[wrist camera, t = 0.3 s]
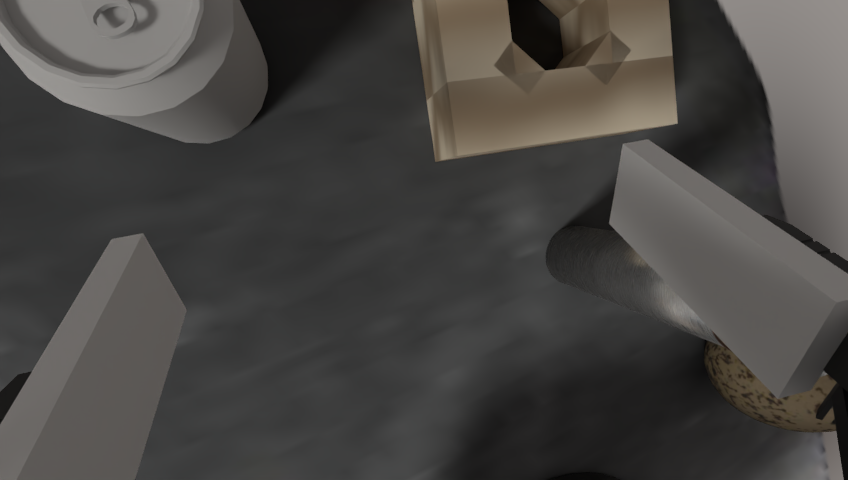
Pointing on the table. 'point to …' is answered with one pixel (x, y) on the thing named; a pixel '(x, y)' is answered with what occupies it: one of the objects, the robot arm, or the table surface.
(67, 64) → the can
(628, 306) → the tube
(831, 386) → the decorative egg
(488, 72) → the collar
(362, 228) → the table surface
